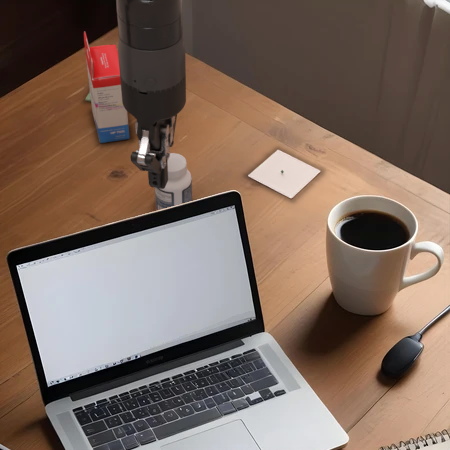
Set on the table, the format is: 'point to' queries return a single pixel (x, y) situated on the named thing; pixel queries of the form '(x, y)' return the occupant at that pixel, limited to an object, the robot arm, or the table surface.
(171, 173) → the pill bottle
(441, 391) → the table surface
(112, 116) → the ink box
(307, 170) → the coaster
